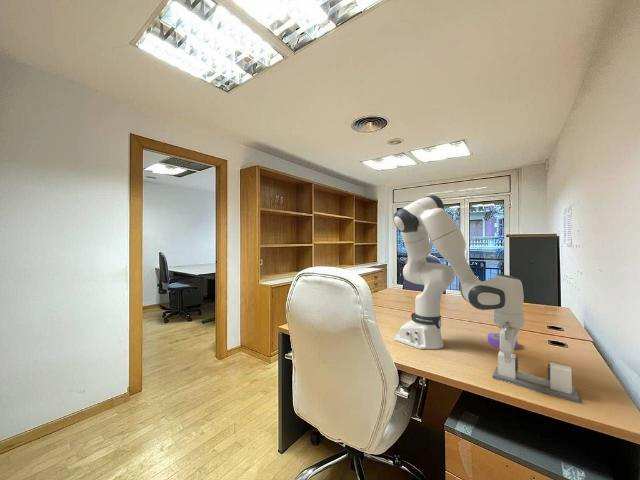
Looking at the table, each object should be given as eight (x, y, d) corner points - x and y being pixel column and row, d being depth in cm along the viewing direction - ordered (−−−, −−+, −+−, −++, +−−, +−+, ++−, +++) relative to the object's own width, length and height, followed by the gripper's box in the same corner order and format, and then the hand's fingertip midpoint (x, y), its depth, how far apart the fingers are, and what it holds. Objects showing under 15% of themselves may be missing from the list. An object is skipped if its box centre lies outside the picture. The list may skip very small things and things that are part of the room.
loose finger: (498, 374, 94) (497, 354, 94) (499, 369, 97) (499, 351, 98) (517, 379, 90) (517, 359, 91) (518, 374, 94) (518, 355, 94)
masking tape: (522, 350, 118) (522, 342, 118) (494, 348, 120) (494, 340, 120) (509, 341, 130) (509, 333, 130) (483, 339, 132) (483, 332, 132)
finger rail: (492, 378, 93) (492, 355, 94) (496, 369, 100) (496, 348, 100) (579, 403, 79) (578, 376, 79) (577, 390, 86) (576, 366, 86)
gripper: (517, 328, 85) (518, 371, 85) (521, 315, 101) (521, 351, 100) (494, 324, 89) (494, 365, 89) (501, 312, 105) (501, 347, 104)
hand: (509, 357), depth 95 cm, fingers open, 8 cm apart
